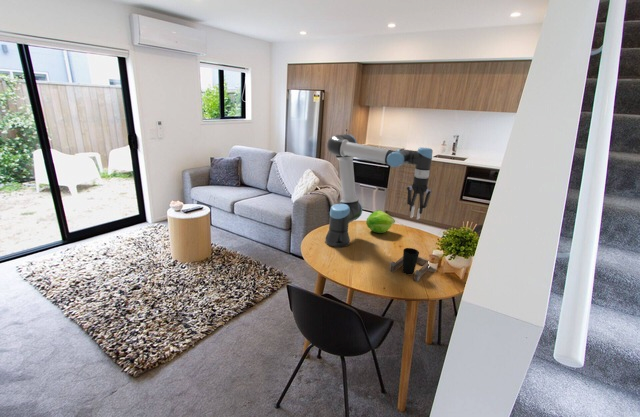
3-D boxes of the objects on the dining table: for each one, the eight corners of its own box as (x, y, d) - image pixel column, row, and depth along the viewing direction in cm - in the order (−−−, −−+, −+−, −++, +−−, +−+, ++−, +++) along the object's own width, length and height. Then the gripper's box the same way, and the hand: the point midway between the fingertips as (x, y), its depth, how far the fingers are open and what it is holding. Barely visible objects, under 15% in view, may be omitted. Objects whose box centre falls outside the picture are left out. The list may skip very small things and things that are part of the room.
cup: (413, 277, 155) (416, 256, 152) (398, 272, 159) (401, 251, 156) (417, 271, 162) (420, 250, 158) (403, 267, 166) (406, 246, 162)
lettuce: (398, 235, 209) (399, 218, 201) (369, 239, 207) (369, 222, 200) (390, 222, 221) (392, 206, 213) (363, 226, 219) (363, 210, 212)
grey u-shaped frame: (389, 271, 160) (390, 262, 159) (405, 258, 176) (406, 250, 174) (417, 281, 152) (419, 272, 150) (431, 267, 167) (433, 258, 166)
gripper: (404, 175, 169) (398, 216, 176) (433, 180, 159) (426, 223, 167) (409, 173, 174) (404, 213, 182) (438, 178, 165) (431, 219, 172)
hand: (414, 217), depth 174 cm, fingers open, 3 cm apart
